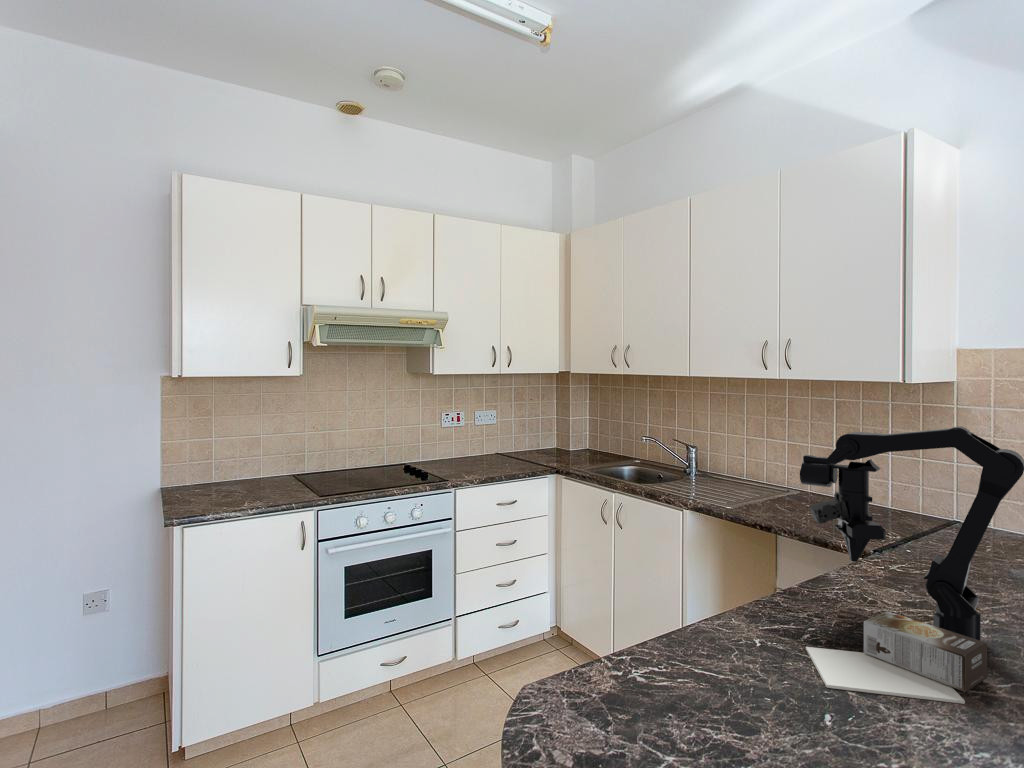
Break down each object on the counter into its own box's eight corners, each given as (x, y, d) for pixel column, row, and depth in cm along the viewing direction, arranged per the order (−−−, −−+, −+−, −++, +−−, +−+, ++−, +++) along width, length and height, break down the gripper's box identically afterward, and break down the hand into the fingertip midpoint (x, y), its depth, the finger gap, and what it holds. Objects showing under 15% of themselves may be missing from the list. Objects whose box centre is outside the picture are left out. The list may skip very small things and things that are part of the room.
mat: (925, 661, 106) (925, 659, 106) (964, 703, 92) (964, 700, 92) (805, 649, 110) (805, 646, 110) (826, 687, 97) (826, 684, 97)
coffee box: (886, 609, 112) (988, 641, 99) (886, 642, 112) (988, 678, 99) (862, 620, 107) (966, 655, 94) (862, 654, 107) (966, 694, 94)
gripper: (802, 481, 137) (802, 546, 137) (826, 497, 119) (826, 572, 119) (854, 482, 134) (854, 549, 134) (886, 499, 116) (886, 576, 116)
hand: (853, 561), depth 126 cm, fingers closed
